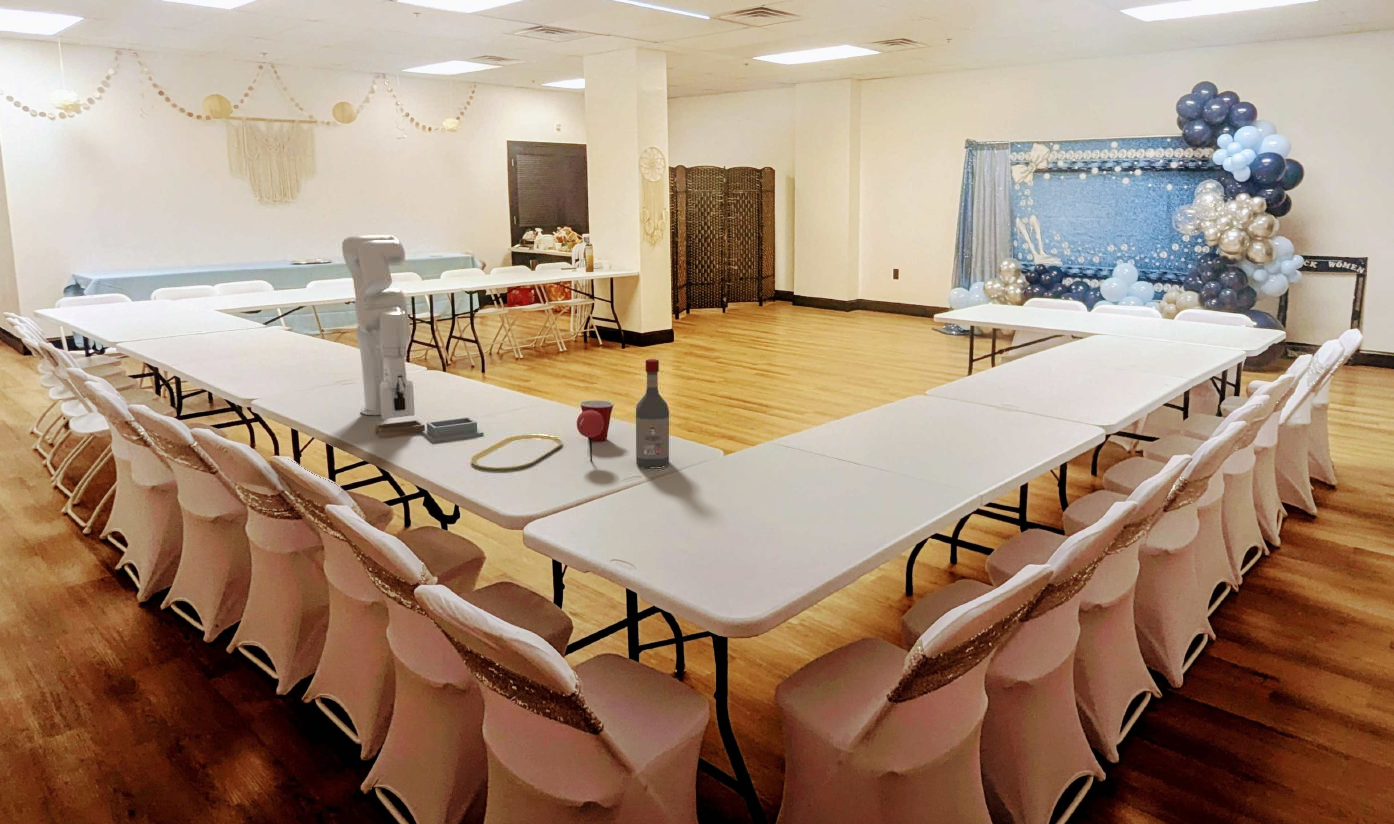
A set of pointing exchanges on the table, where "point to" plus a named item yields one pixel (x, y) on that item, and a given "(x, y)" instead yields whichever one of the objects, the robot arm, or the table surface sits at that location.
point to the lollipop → (590, 425)
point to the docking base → (451, 429)
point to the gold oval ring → (508, 440)
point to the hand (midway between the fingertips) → (397, 407)
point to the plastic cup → (605, 412)
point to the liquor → (652, 423)
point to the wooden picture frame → (399, 429)
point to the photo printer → (388, 401)
